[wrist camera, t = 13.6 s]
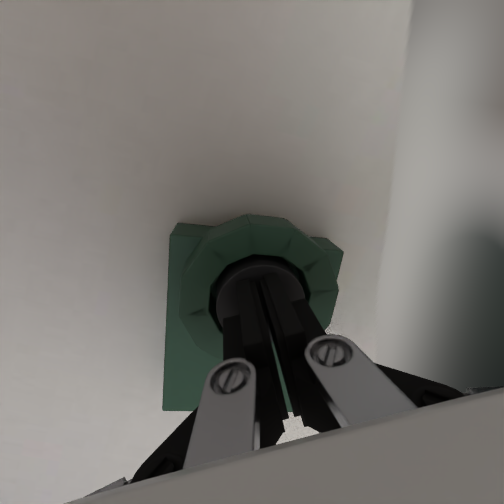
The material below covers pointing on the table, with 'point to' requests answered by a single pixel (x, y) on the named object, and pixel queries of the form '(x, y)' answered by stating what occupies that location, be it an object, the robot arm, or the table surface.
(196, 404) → the button box
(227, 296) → the button
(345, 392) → the robot arm
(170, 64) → the table surface
